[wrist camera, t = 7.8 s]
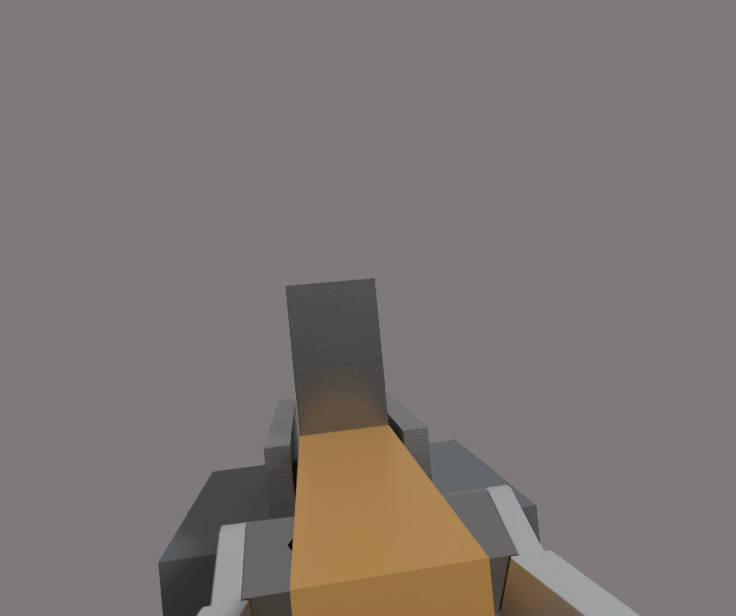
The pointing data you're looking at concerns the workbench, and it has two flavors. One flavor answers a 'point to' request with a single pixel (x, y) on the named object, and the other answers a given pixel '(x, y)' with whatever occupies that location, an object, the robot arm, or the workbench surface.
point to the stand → (294, 499)
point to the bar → (366, 480)
